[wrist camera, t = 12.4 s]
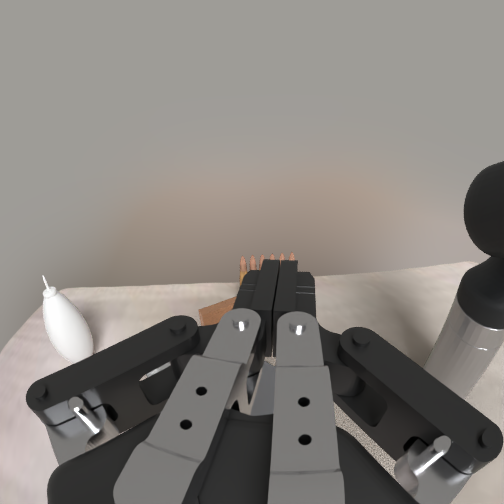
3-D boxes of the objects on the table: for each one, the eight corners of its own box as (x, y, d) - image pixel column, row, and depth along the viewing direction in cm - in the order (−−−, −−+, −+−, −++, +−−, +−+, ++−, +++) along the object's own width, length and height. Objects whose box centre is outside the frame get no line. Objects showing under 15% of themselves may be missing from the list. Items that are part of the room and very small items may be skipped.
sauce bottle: (108, 359, 42) (70, 271, 34) (76, 381, 36) (27, 295, 28) (90, 339, 46) (56, 258, 38) (60, 358, 40) (19, 278, 32)
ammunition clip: (241, 312, 54) (237, 258, 48) (241, 307, 55) (236, 253, 50) (295, 308, 54) (298, 254, 49) (293, 302, 56) (296, 249, 51)
